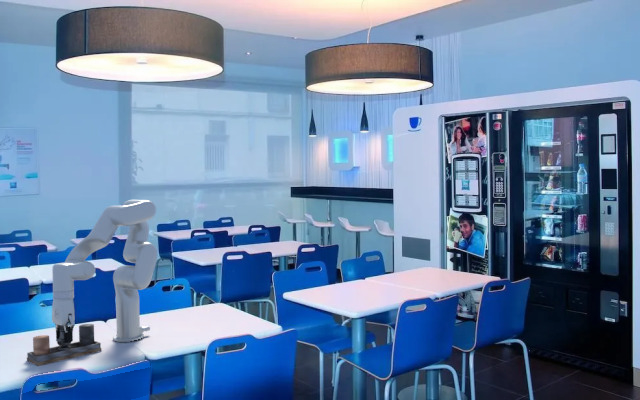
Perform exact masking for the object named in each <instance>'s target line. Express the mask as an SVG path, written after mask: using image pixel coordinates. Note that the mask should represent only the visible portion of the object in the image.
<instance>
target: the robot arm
mask: <svg viewBox="0 0 640 400" xmlns="http://www.w3.org/2000/svg"><path fill="white" fill-rule="evenodd" d="M156 213H157V207H156V205H155V203H154V202H152V201H151V200H148V199H129V200H126V201H124V202H123V204H122V205H109V206H107V207H105V208H104V209H103V211H102V212H101V214H100V216H99V217H98V219H97V221H96V222H95V224H94V226H93V228H92V229H91V231H90V232H89V234H88V235H87V236H86V237H84V238H83V239H81V241H79V242H78V243H77V244H76V245H75V246H74V247H73V248H72V249H71V250H70V252H69V254H68V255H67V256H66V259H65V261H64V262H58V263H55V264H53V265H52V300H53V301H52V304H51V307H52V308H51V321H52V323H53V324H54V326H55V338H56V339H58V338H59V337H60V331H59V329H60V325H61V326H64V330H65V333H64V343H68V342H71V343H73V339H74V337H73V336H74V335H73V333H74V327H75V325H76V324H75V320H76V319H75V317H76V315H75V314H76V313H75V303H74V298H75V284H74V283H75V281H86V280H89V279H91V278H92V277H94V275H95V274H96V267H95V265H94V264H93V263H92V262H90V261H87V260H86V259H87V258H88V257H89V256H90V255H92V254H93V253H95V252H96V251H98V250H101V249H103V248H106V247H107V246H108V245H109V243H110V242H111V240H112V239H113V237H114V235H115V233H116V232H117V231H118V229H119V227H128V234H127V237H126V241H125V244H124V248H123V252H122V256H123V259H124V260H125V261H126V262H129V263H132V264H135V265H127V264H124V265H120V266H118V267H117V268H115V270H114V272H113V275H112V281H113V285H114V290H115V311H116V312H115V313H116V314H115V315H116V317H115V319H116V320H115V321H116V334H115V335H113V337H112V341H114V342H118V343H131V342H130V341H132V342H135V341H134V340H137V341H139V340H138V339H140V340H142V339H143V338H144V332H149V331H150V330H151V327H150V326H149V325H147V326H141V324H140V323H141V322H140V295H139V291H141V290H144V289H146V288H148V287H149V285H150V284H151V281H152V278H153V274H154V271H155V268H156V263H157V260H158V249H157V247H156V246H155V244H153V243H152V242H149V241H148V239H149V233H150V227H149V223H148V221H149V220H151V219H153V218H154V217H155V216H156ZM138 290H139V291H138ZM66 323H68V324H66ZM67 326H68V328H67ZM141 338H142V339H141Z"/></svg>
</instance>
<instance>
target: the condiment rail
mask: <svg viewBox="0 0 640 400" xmlns="http://www.w3.org/2000/svg"><path fill="white" fill-rule="evenodd" d="M94 325H95V324H93V323H84V324H80V325H78V335H79V336H78V339H79V341H75V342H71V343H70V345H68V346H71V347H72V348H71V349H68V350H57V348H58V347H60V346H59V345H56V346H52V347H51V345H50V335H47V334H45V335H42V334H40V335H36V336H33V337H32V341H33V342H32V345H33V347H32V349H33V350H32V351H29V352H27V357H26V362H29V363H31V364H34V365H35V366H37V367H39V366H43V365H50V364H53V363H57V362H62V361H65V360H69V359H74V358H78V357H82V356H86V355H90V354H95V353H99V352H98V351H100V352H102V347H101V342H99V341H96V340H95V326H94Z"/></svg>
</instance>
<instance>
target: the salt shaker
mask: <svg viewBox="0 0 640 400" xmlns="http://www.w3.org/2000/svg"><path fill="white" fill-rule="evenodd" d="M66 324H69V323H66ZM67 328H68V326H67ZM59 331H60V337H59V338H58V339H56V340H55V341H56V343H57V346H60V347H58V348H57V350H68V349H71V348H72V347H71V346H68V345H70V343H72V342H68V343H64V333H65V330H64V326H61V325H60V329H59Z"/></svg>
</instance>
